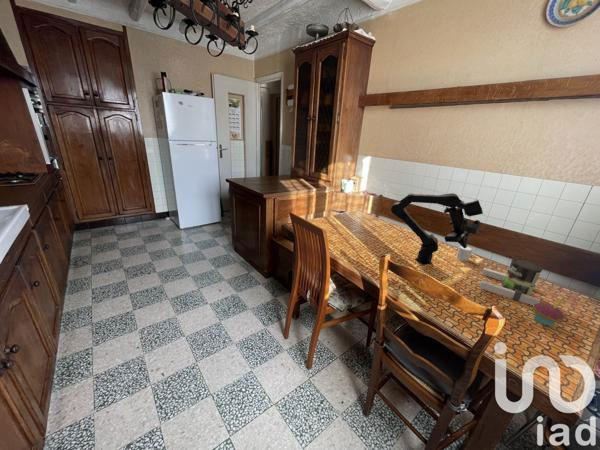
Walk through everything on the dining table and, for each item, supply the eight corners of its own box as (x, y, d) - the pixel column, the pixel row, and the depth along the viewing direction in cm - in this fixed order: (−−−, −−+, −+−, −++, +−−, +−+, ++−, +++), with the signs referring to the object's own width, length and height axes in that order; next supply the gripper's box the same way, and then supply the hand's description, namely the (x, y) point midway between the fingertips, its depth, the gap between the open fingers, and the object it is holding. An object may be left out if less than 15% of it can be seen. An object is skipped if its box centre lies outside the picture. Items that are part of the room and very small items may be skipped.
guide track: (479, 288, 112) (481, 280, 110) (482, 272, 125) (484, 265, 123) (537, 307, 100) (541, 299, 99) (534, 288, 113) (537, 281, 112)
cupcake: (551, 317, 95) (564, 291, 91) (564, 333, 87) (579, 306, 83) (524, 311, 98) (535, 286, 93) (535, 326, 90) (548, 299, 86)
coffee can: (513, 298, 106) (525, 269, 101) (495, 284, 115) (505, 257, 110) (536, 298, 106) (550, 270, 101) (517, 284, 116) (528, 258, 110)
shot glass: (471, 262, 134) (475, 251, 132) (458, 261, 136) (461, 249, 133) (466, 256, 141) (469, 246, 138) (453, 255, 142) (456, 244, 139)
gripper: (464, 225, 108) (473, 257, 111) (485, 210, 116) (492, 240, 119) (440, 226, 118) (448, 255, 121) (461, 212, 126) (468, 240, 129)
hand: (465, 247), depth 122 cm, fingers closed
